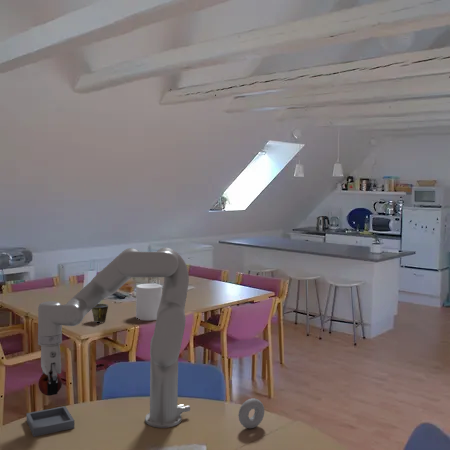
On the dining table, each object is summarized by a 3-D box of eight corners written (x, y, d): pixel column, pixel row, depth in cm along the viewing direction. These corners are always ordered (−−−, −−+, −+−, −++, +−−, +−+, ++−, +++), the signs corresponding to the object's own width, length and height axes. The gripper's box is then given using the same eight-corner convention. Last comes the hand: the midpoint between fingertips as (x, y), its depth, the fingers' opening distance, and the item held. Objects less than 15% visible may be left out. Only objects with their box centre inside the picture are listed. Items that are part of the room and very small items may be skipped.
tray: (65, 413, 182) (65, 405, 181) (74, 427, 170) (74, 420, 170) (26, 420, 175) (26, 413, 175) (33, 436, 164) (33, 428, 164)
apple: (33, 396, 170) (33, 372, 170) (50, 388, 177) (50, 365, 177) (49, 400, 167) (49, 376, 167) (66, 392, 174) (66, 369, 174)
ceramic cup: (90, 320, 311) (90, 304, 311) (107, 319, 314) (107, 303, 314) (91, 325, 299) (91, 308, 298) (109, 324, 302) (109, 308, 301)
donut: (260, 422, 177) (261, 394, 177) (266, 426, 174) (266, 397, 174) (236, 428, 172) (236, 400, 171) (241, 433, 169) (242, 403, 169)
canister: (165, 318, 319) (166, 287, 317) (141, 321, 311) (141, 289, 309) (155, 313, 332) (156, 282, 331) (132, 315, 324) (132, 284, 323)
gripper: (67, 344, 165) (67, 397, 166) (55, 331, 180) (55, 379, 181) (43, 347, 161) (43, 401, 163) (33, 333, 176) (33, 383, 177)
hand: (49, 389), depth 172 cm, fingers closed on apple, 7 cm apart
